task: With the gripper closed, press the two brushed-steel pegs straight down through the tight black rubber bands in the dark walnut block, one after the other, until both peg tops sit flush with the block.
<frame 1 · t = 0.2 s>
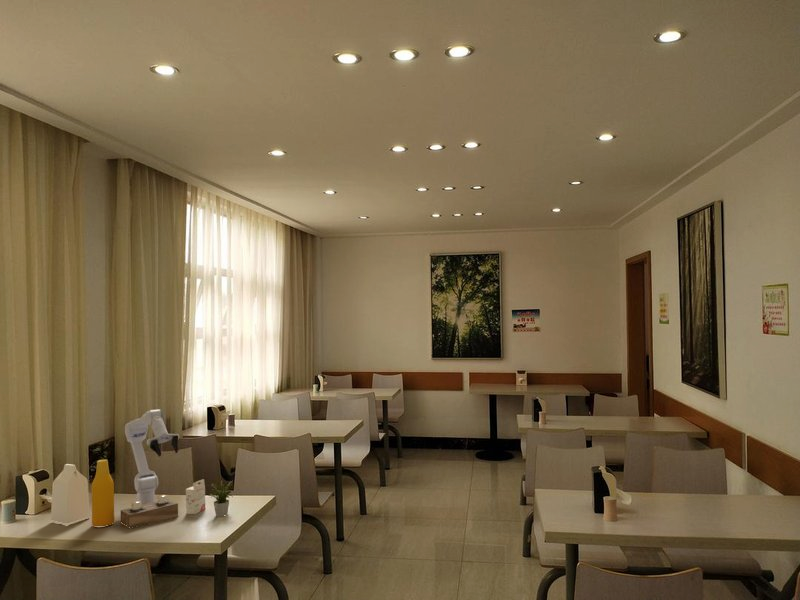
hand: (168, 453, 275), 31 cm above the table, tool tilted 45°, fingers open, 7 cm apart
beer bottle: (103, 525, 272), on the table
ink cartridge box: (195, 511, 288), on the table
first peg: (136, 508, 273), point 7 cm above the table, slide at 3.5 cm
house plant: (218, 516, 280), on the table
walnut block: (149, 519, 277), on the table
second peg: (162, 502, 282), point 7 cm above the table, slide at 3.5 cm
milk: (70, 521, 280), on the table
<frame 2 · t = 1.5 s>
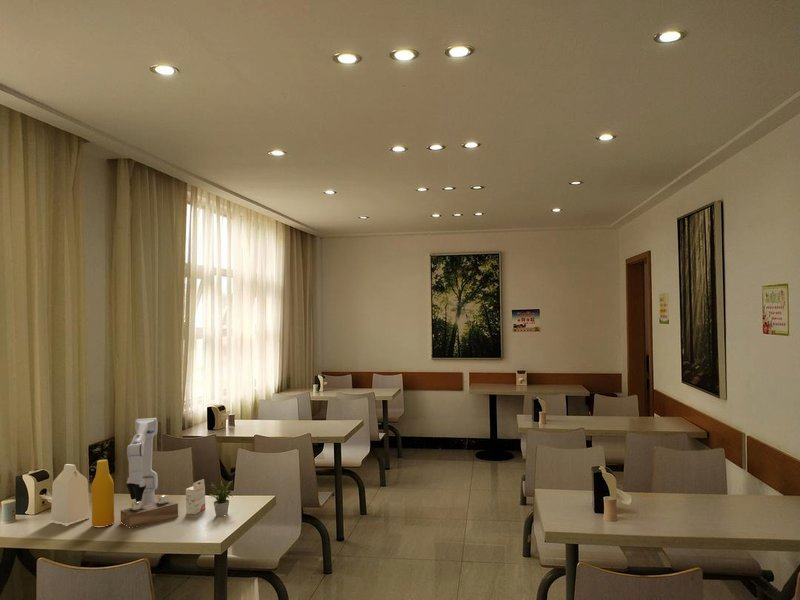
hand: (136, 500, 274), 10 cm above the table, tool pointing down, fingers open, 5 cm apart
nothing on the table moved.
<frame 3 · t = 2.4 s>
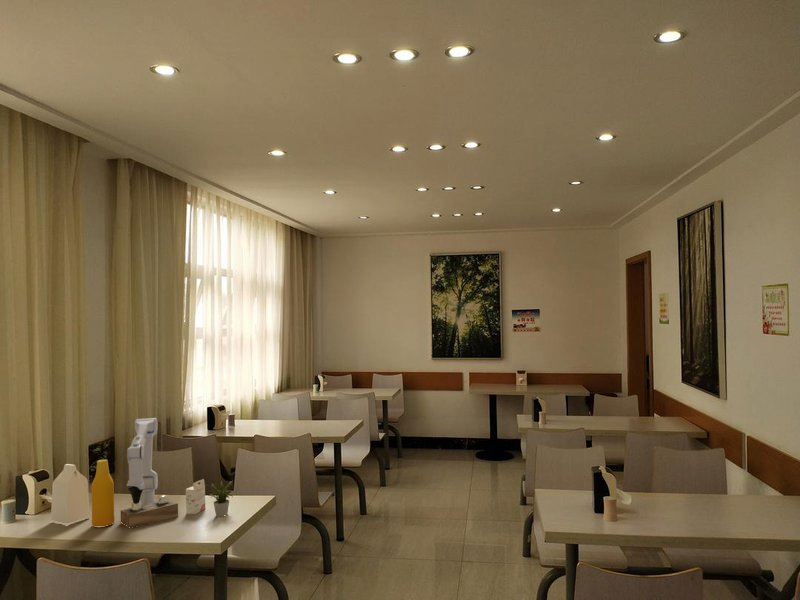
hand: (136, 502, 274), 9 cm above the table, tool pointing down, fingers closed, pressing on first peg
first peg: (136, 508, 273), point 6 cm above the table, slide at 3.2 cm, touching gripper
everything else where it was.
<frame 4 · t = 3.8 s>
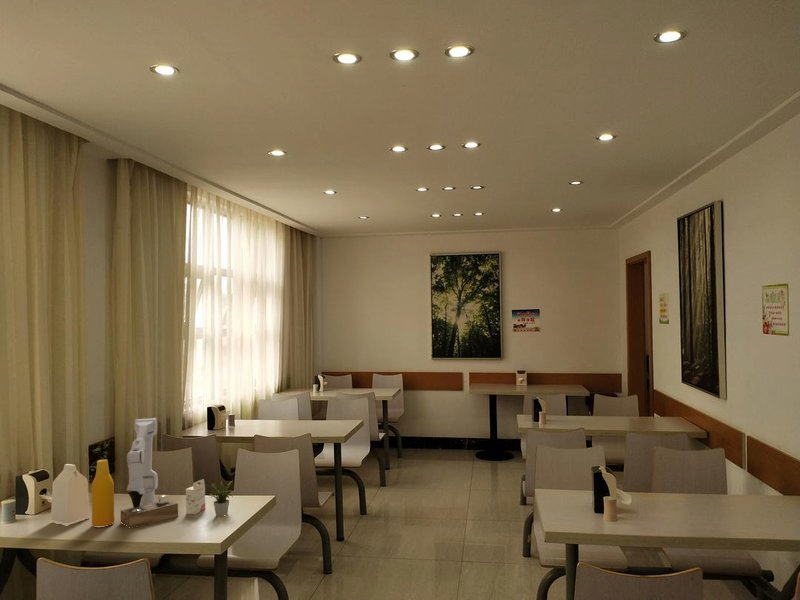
hand: (136, 507, 274), 7 cm above the table, tool pointing down, fingers closed
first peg: (136, 516, 273), point 3 cm above the table, slide at -0.1 cm
everything else where it was.
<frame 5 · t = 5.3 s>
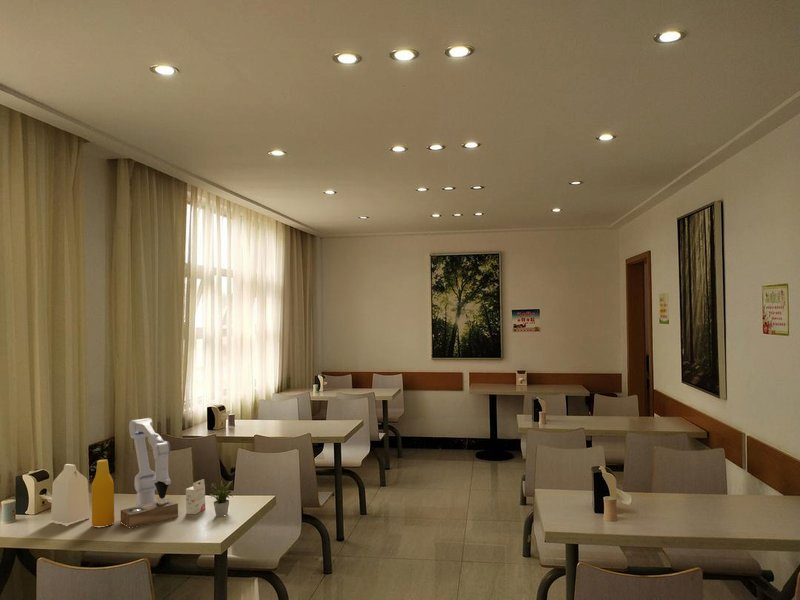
hand: (162, 497, 282), 9 cm above the table, tool pointing down, fingers closed, pressing on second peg
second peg: (162, 503, 282), point 6 cm above the table, slide at 2.9 cm, touching gripper
everything else where it was.
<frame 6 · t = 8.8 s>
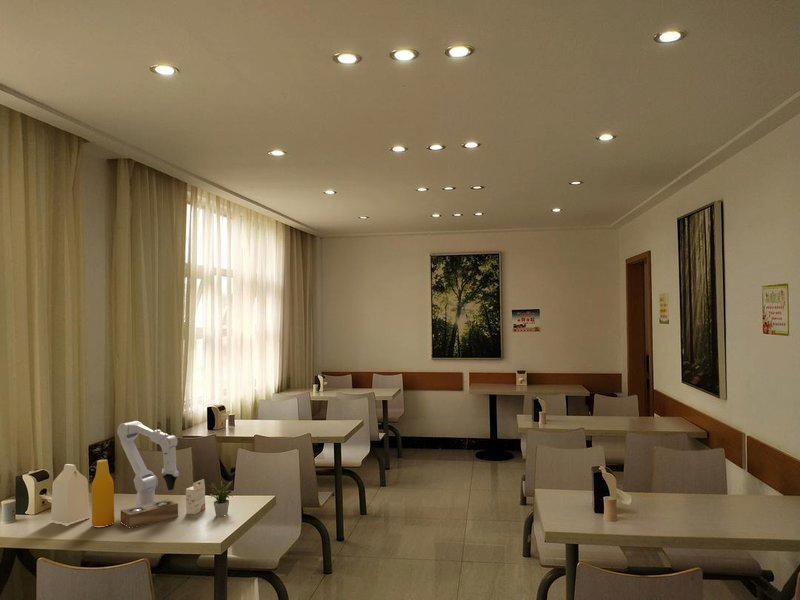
hand: (170, 489, 290), 10 cm above the table, tool pointing down, fingers closed
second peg: (162, 509, 282), point 3 cm above the table, slide at -0.1 cm
everything else where it was.
at the end: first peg slide at -0.1 cm; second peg slide at -0.1 cm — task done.
